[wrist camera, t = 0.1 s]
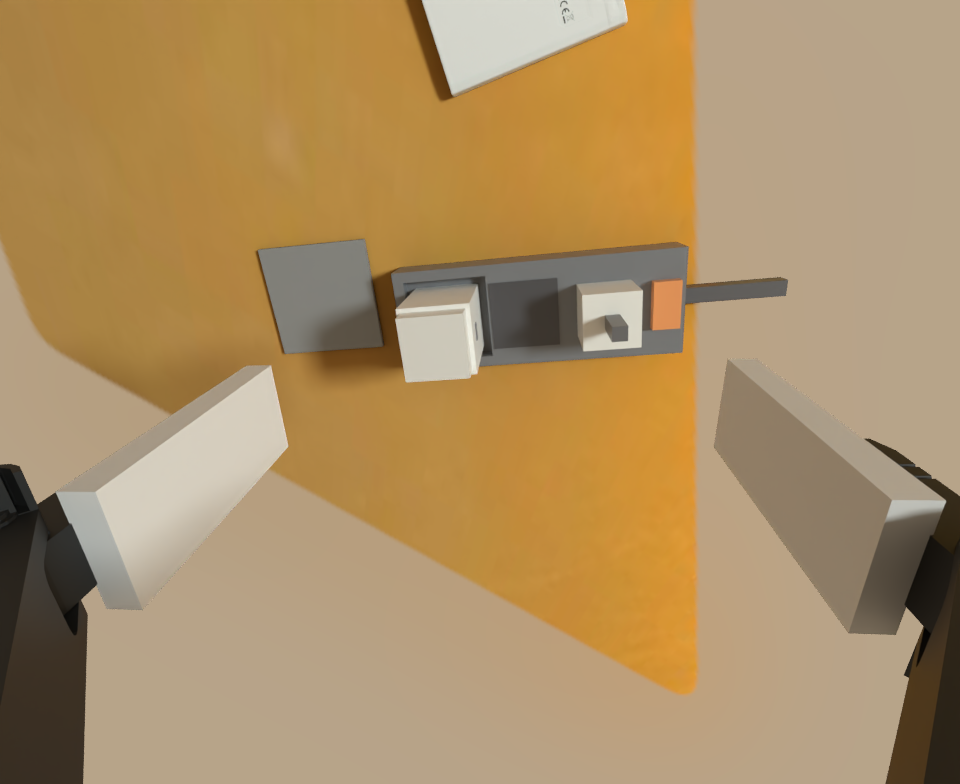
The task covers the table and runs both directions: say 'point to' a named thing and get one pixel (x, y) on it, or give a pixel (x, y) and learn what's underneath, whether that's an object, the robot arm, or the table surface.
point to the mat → (322, 296)
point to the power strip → (568, 276)
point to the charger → (440, 333)
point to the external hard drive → (512, 34)
